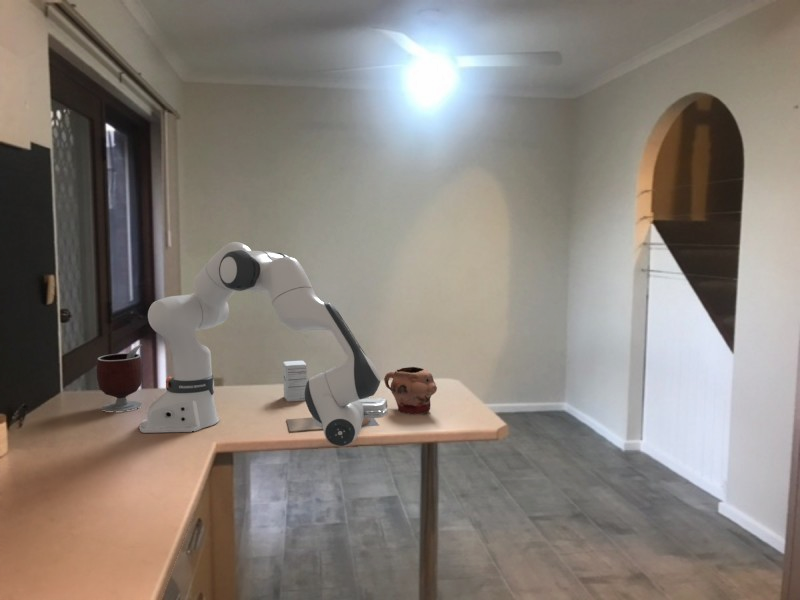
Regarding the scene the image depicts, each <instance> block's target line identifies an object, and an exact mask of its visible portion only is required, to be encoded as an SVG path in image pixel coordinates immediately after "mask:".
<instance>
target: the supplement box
mask: <svg viewBox="0 0 800 600" xmlns="http://www.w3.org/2000/svg"><path fill="white" fill-rule="evenodd" d="M282 363H283V364H282V366H283V367H282V368H283V369H282V370H283V371H282V372H283V373H282V374H283V377H282V378H283V397H284V398H285V401H286V402H299V401H305V395H304V393H305V387H306V384H307V381H308V364H307V363H306V362H305V361H304V360H290V361H289V360H288V361H287V360H286V361H283V362H282Z"/></svg>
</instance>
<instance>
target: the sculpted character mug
mask: <svg viewBox="0 0 800 600" xmlns="http://www.w3.org/2000/svg"><path fill="white" fill-rule="evenodd" d="M390 379H392V380H391V382H390V385H389V381H390ZM384 384H385V387H386V388H387V389H389V391H390V392H391V394H392V396H393V397H394V400H395V402H396V405H397V409H398V412H399V413H403V414H407V415H425V414H427V413H429V412H430V411H431V397H432V396H433V395H435V393H436V392H437V390H438V387H437V384H436V382H435V381H434V376H433V375H432V373H431V372H430V371H429V370H428V369H425V368H422V367H418V366H417V367H415V366H406V367H405V366H404V367H401V368H396V369H395V371H394V372H393V371H390V372H389V371H388V372H387V373H386V374H385V376H384Z"/></svg>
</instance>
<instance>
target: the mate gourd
mask: <svg viewBox="0 0 800 600" xmlns="http://www.w3.org/2000/svg"><path fill="white" fill-rule="evenodd" d="M141 347H143V344H139V345H137V346H135V347H133V348H132V349H130V351H129V352H122V353H113V354H106V355H102V356H99V357H97V362H96V380H97V385H98V387H99V389H100V390H101V392H103V393H104V395H106V396H110V397H114V398H116V400H115V402H112V403H107V404H105V405H106V406H104V405H102V406H101V409H102V410H105V411H113V412H116V411H127V410H132V409H135V408H138V407H140V406H141V405H142V406H143V403H142V402H140V401H137V400H136V401H135V400H128V399H127V397H128V396H130V395H132V394H133V393H134V394H135V393H136V392H138V390H139V389H140V387H141V386H142V382H143V375H144V367H143V362H142V361H143V360H142V359H141V358H142V357H141V354H140V353H137V352H138V350H139V349H140V348H141ZM102 410H101V411H102Z"/></svg>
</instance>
